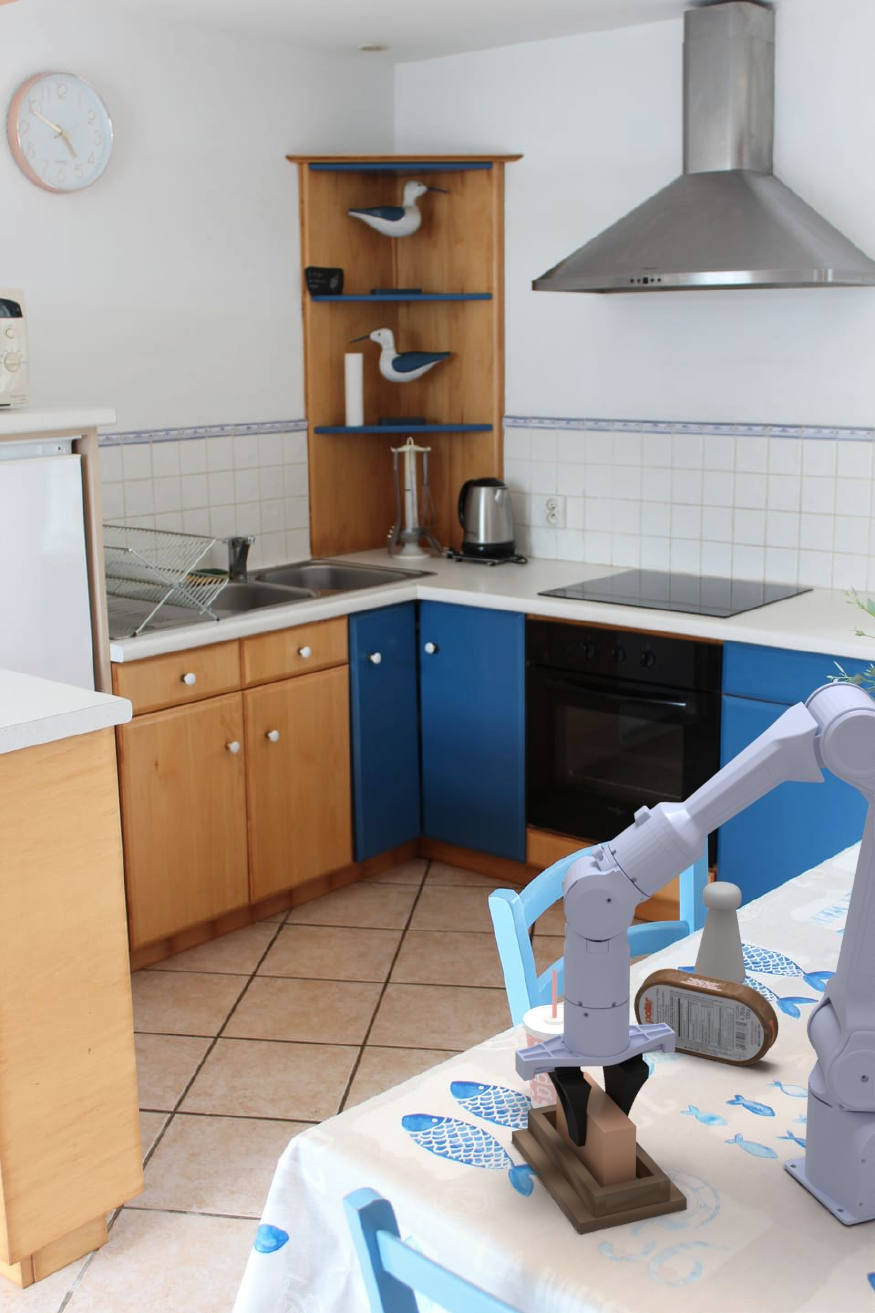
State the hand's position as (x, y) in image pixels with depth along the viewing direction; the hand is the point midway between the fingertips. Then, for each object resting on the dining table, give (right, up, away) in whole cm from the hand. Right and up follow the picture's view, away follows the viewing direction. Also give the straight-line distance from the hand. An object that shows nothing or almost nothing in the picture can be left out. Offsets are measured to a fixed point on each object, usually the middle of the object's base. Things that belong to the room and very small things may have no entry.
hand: (595, 1136), depth 121 cm
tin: (+14, +1, +22) cm, 26 cm away
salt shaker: (+18, +4, +36) cm, 40 cm away
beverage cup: (-3, -1, +13) cm, 13 cm away
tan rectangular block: (0, -3, +1) cm, 3 cm away
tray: (0, -4, +1) cm, 4 cm away
